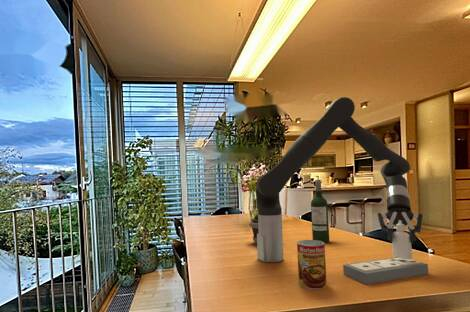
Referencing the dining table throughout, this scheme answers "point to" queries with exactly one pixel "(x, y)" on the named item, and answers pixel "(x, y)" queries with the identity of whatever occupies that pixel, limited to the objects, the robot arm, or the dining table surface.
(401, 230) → the eye dropper bottle
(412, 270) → the tile board
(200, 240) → the dining table surface
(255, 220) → the flowerpot
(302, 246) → the canned food
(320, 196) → the wine bottle
